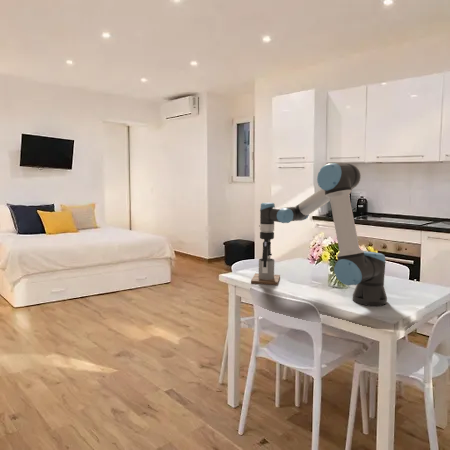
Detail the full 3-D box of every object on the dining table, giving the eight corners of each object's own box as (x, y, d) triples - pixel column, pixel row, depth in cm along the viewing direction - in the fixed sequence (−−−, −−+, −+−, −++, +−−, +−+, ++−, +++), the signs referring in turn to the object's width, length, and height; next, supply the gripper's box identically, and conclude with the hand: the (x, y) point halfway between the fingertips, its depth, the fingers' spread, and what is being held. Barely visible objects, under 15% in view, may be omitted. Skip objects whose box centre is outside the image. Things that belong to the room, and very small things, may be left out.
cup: (272, 280, 227) (273, 261, 226) (257, 279, 229) (257, 260, 228) (274, 276, 235) (275, 258, 234) (259, 275, 237) (260, 257, 236)
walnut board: (277, 285, 224) (277, 282, 223) (251, 283, 226) (251, 280, 226) (280, 277, 239) (280, 274, 239) (255, 275, 242) (255, 273, 242)
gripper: (262, 228, 242) (262, 264, 245) (256, 234, 218) (256, 275, 221) (276, 228, 240) (275, 265, 243) (271, 235, 216) (270, 276, 219)
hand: (266, 270), depth 232 cm, fingers open, 13 cm apart
